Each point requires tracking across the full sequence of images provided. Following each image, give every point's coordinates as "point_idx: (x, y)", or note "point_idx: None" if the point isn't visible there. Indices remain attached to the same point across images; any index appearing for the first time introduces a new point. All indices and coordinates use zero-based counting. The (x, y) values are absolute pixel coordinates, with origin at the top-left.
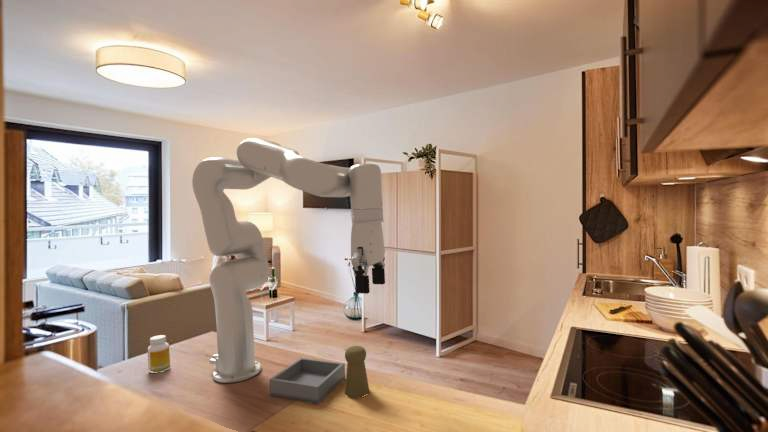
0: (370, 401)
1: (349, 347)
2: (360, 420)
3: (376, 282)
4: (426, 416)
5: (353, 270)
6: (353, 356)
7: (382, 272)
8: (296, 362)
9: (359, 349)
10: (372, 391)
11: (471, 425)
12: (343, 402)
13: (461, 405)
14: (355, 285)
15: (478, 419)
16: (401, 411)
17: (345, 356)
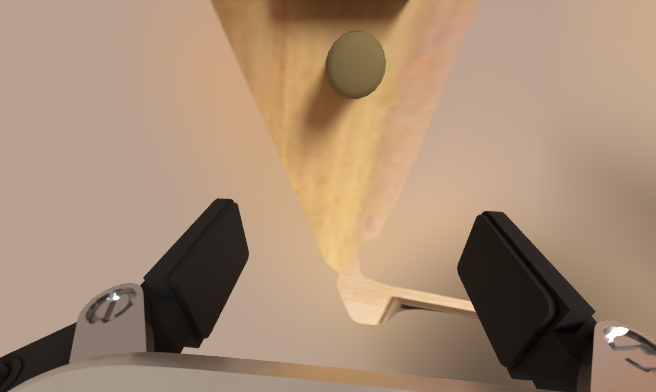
0: (329, 103)
1: (359, 44)
2: (272, 110)
3: (473, 240)
4: (315, 193)
5: (5, 355)
6: (327, 75)
7: (490, 337)
8: None
9: (348, 86)
10: None
11: (315, 237)
12: (310, 51)
13: (354, 225)
14: (195, 221)
15: (328, 242)
16: (316, 160)
17: (334, 42)
